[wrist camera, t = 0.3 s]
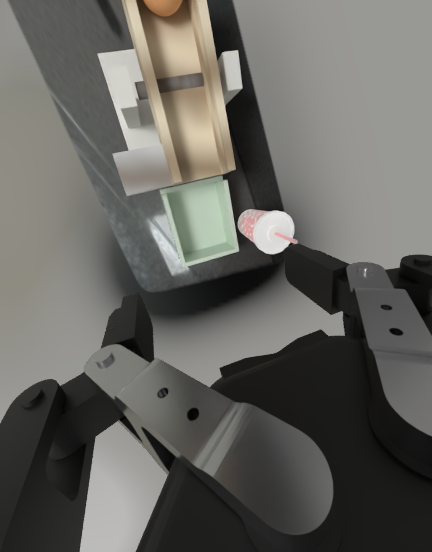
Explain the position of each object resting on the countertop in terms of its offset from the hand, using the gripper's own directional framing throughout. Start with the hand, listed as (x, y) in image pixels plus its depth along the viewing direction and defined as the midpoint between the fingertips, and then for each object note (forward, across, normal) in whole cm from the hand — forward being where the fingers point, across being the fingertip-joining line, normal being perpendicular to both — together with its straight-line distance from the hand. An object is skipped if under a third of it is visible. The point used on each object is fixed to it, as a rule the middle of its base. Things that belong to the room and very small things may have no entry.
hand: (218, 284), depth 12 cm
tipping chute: (+20, -2, -13) cm, 24 cm away
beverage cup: (+27, -13, +5) cm, 30 cm away
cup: (+27, -4, +2) cm, 27 cm away
